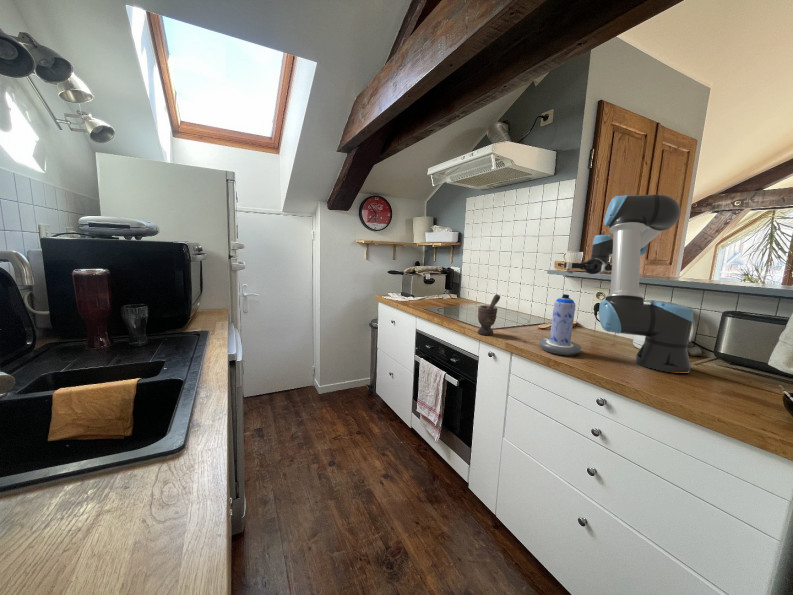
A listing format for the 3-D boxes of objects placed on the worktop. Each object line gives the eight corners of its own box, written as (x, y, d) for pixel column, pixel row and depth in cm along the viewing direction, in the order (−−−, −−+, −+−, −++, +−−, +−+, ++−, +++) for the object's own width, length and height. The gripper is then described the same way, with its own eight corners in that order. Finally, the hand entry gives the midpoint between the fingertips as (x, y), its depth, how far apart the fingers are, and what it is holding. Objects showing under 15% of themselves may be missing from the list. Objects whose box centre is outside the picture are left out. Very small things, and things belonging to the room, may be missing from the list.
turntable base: (582, 354, 121) (583, 351, 121) (560, 357, 117) (561, 353, 117) (556, 345, 132) (557, 342, 132) (536, 347, 128) (536, 344, 128)
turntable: (589, 351, 120) (590, 347, 120) (561, 354, 115) (562, 350, 115) (556, 340, 134) (557, 337, 134) (530, 343, 128) (531, 339, 128)
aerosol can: (575, 345, 122) (582, 296, 119) (560, 346, 119) (567, 296, 116) (558, 339, 129) (564, 293, 126) (544, 341, 127) (550, 293, 124)
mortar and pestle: (504, 336, 143) (508, 294, 140) (493, 339, 138) (497, 295, 135) (483, 330, 152) (487, 290, 149) (472, 333, 147) (475, 291, 144)
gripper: (624, 276, 143) (617, 277, 127) (565, 271, 159) (552, 273, 144) (626, 259, 142) (620, 259, 126) (567, 257, 158) (554, 256, 143)
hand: (584, 266), depth 135 cm, fingers open, 13 cm apart
